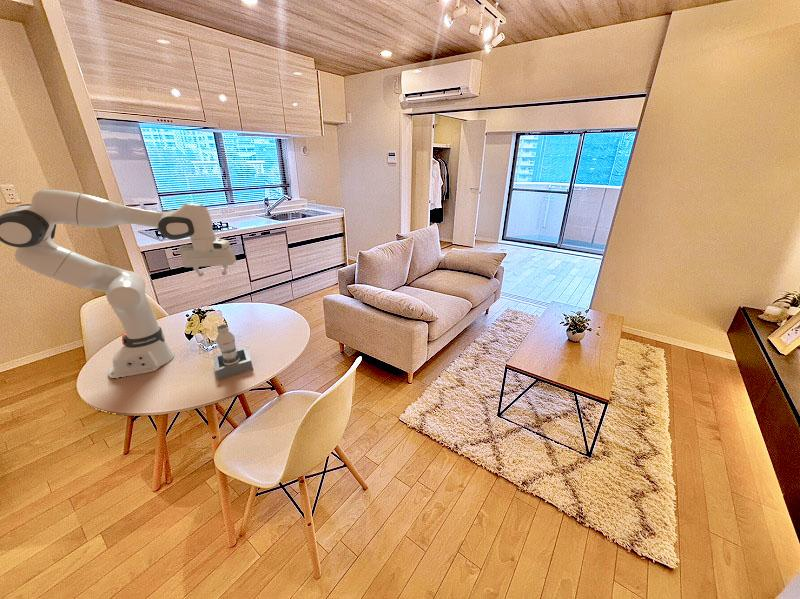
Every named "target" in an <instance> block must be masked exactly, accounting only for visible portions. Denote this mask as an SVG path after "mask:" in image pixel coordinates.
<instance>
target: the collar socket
mask: <svg viewBox="0 0 800 599" xmlns="http://www.w3.org/2000/svg"><path fill="white" fill-rule="evenodd" d="M236 351H237V353H238V356H239V358H240V360H241V362H237V363H234V364H230V365H227V366H224V365H223V356H222V353H219V354H216V355H213V356H212V357H213V366H214V372H215V375H216V378H217V380H218V381H219V380H220V381H221V380H223V379H224V380H225V379H226V378H230V377H233V376H237V375H239V374H242V373H247V372H249V371H252V370H254V368H253V364H252V362H253V361H252V359H251V357H250V356H251V355H250V352H249V350H248V346H246V347H242V348H238V349H237V348H236ZM244 359H245V360H244Z"/></svg>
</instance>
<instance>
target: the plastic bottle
mask: <svg viewBox="0 0 800 599" xmlns="http://www.w3.org/2000/svg"><path fill="white" fill-rule="evenodd" d="M216 329H217V336H216V338H215V341H216V344H217V345H218V348H219V350H220V354H222V356H223V365H222V366H227V365H230V364H234V363H237V362H241V361H242V359H241V360H240V358H239V356H238V353H237V351H236V350H237V348H236V347H237V346H236V338H235V335H234V334H233V333H232V332H230V331H229V330H230V329H229V327H228V325H227V324H220V325H219V326H217V327H216Z"/></svg>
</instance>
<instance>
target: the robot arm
mask: <svg viewBox="0 0 800 599" xmlns="http://www.w3.org/2000/svg"><path fill="white" fill-rule="evenodd" d="M210 214H211V213H210V211H209V209H207V207H206V206H204V205H203V204H199V203H184V204H183V205H182V206H181V207H178V209H176V210H173V209H171V210H164V211H155V210H149V209H144V208H137V207H133V206H127V205H124V204H120V203H118V202H114V201H111V200H108V199H104V198H102V197H98V196H94V195H90V194H85V193H81V192H77V191H70V190H59V189H48V188H46V189H45V188H43V189H38V190H37V191H36V192H35V193H34V194H33V196H32V198H31V204H29V203H28V204H21V205H20V204H19V205H17V206H15V207H12V208H9V209H7V210H5V212H3V213H2V214H1V215H0V242H1V243H3V244H5V245H8V246H10V247H13V248H14V247H15V248H16V250H15V251H14V252H15V253H14V258H15V260H16V261H17V262H18V263H19V264H20V265H22V266H24V267H26V268H27V269H30V270H31V271H33V272H36V273H39V274H41V275H43V276H46V277H48V278H51V279H52V280H53V279H54V280H56V281H59V282H61V283H64V284H67V285H70V286H73V287H76V288H78V289H82V290H83V289H84V290H85V289H87V290H93V291H98V292H103V293H105V297H106V299H107V302H108V304H109V305H110V306H111V309H112V310H113V311H114V313H115V316H117V318H118V319H119V322H120V323H121V326H122V328H123V330H124V333H123V334H122V335H121V338H122V339H121V343H122V346H121V348H120V349H119V350H118V351H116V352H115V354H114V355H113V358H112V364H111V366H110V367H109V369H108V372H107V373H108V377H109V379H111V378H116V379H120V378H119V377H122V378H126V376H127V377H132V376H136V375H141V374H147V373H153V372H155V371H157V370H158V369H160V367H162V366H164V365H166V364H168V363H169V362H170V361H172V360H173V359H174V357H175V352H174V351H173V350H172V349H171V348H170V347H169V345H168V342H166V337H165V334H164V331H163V329H162V328H161V326H160V325H159V322H158V320H157V317H156V314H155V312H154V310H153V308H152V307H151V304H150V303H149V301H148V298H147V295H146V282H145V280H144V279H143V277H142V276H141V275H140V274H139V273H137V272H136V271H132V270H126V269H123V268H120V267H117V266H113V265H109V264H106V263H102V262H100V261H96V260H94V259H92V258H90V257H87V256H84V255H83V254H80V253H77V252H75V251H72V250H70V249H68V248H65V247H63V246H61V245H59V244H57V243H55V241H54V240H53V239H54V238H55V237H56V236H55V234H56V230H57V225H58V224H59V225H60V224H63V225H65V224H66V225H71V226H72V225H73V226H79V227H83V228H93V229H95V228H96V229H106V228H107V229H108V228H112V227H115V226H120V225H138V226H142V227H151V228H156V229H158V231H159V233H160V234H161V236H163V237H164V238H166V239H168V240H173V241H177V240H182V239H185V238H189V237H190V240H191V244H183V245H179V247H178V252H179V254H180V260H181V264H182V266H183V267H184V268H192V269H193V270H194V272H196V273H197V274H198V277H204V276H205V274H204V271H202V270H200V268H201V267H216V266H217V267H218V266H222V267H223V268H224V269H223V270H222V271H221V275H222V276H227V275H228V272H227V270H228V267H229V266H233V265H234V264H235V263H236V262H237V257H236V256H235V255H236V254H235V251H234V250H233V248H232V247H231V246H230V241H229V240H227V239H223V238H219V237H216V234H215V232H214V229H213V228H214V227H213V226H214V225H213V221H212V218H211V215H210Z"/></svg>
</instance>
